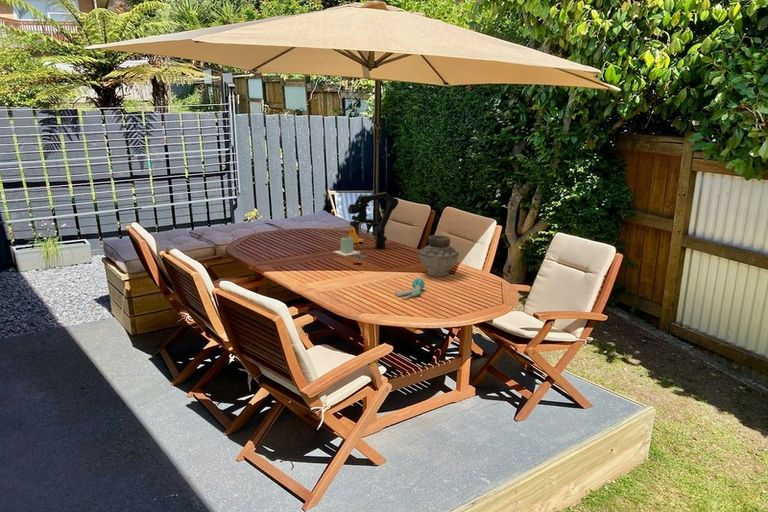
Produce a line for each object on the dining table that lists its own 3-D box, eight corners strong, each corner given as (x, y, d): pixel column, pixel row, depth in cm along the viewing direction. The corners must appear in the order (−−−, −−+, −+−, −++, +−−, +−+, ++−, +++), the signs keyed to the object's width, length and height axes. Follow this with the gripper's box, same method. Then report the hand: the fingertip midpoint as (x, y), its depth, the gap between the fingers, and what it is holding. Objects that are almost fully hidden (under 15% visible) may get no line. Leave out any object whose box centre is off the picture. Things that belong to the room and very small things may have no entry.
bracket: (364, 243, 451) (364, 228, 448) (356, 244, 447) (356, 229, 444) (355, 240, 460) (355, 225, 457) (348, 241, 455) (348, 226, 452)
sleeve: (347, 250, 422) (347, 236, 420) (353, 252, 418) (353, 238, 415) (340, 251, 418) (340, 238, 416) (345, 253, 414) (345, 239, 411)
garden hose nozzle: (400, 294, 322) (434, 287, 327) (389, 282, 337) (422, 275, 343) (401, 305, 324) (434, 298, 330) (390, 293, 340) (422, 286, 346)
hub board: (349, 250, 428) (349, 244, 427) (360, 254, 417) (360, 247, 416) (333, 253, 419) (333, 246, 418) (344, 257, 409) (344, 250, 408)
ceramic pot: (435, 266, 390) (437, 231, 384) (465, 274, 373) (467, 237, 367) (410, 273, 373) (410, 236, 367) (440, 282, 356) (441, 243, 350)
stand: (355, 255, 414) (355, 248, 413) (368, 257, 410) (368, 250, 409) (348, 259, 405) (348, 252, 404) (361, 260, 401) (361, 253, 400)
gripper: (366, 210, 435) (366, 230, 439) (345, 212, 423) (345, 233, 427) (375, 212, 426) (375, 233, 430) (354, 215, 415) (354, 236, 419)
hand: (362, 234), depth 427 cm, fingers open, 9 cm apart
